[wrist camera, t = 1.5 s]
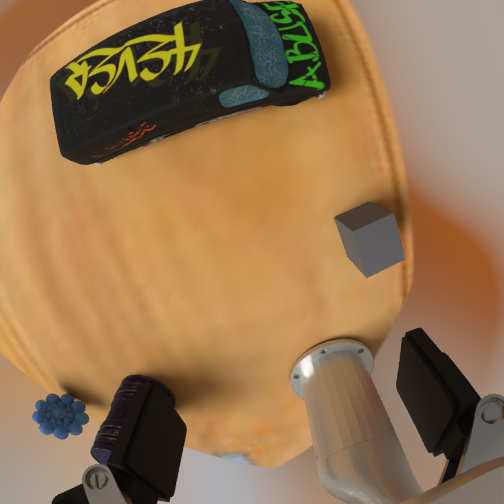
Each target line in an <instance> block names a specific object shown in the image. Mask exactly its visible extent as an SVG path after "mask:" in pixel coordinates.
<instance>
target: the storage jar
mask: <svg viewBox="0 0 504 504" xmlns="http://www.w3.org/2000/svg"><path fill="white" fill-rule="evenodd" d="M141 383H155V384H156V385H157V386H160V387H161V389H162V390H163V392H164V393H165V395H166V396H167V398H168V400H169V401H170V403H171V404H172V406H173V407H175V397H174V395H173V393H172V392H171V391H170V390H169V389H168V388H167V387H166V386H165V385H163V384H162V383H160V382H158V381H157V380H154V379H152V378H149V377H146V376H142V375H130V376H127V377H126V378H124V379H123V381H122V383H121V386H120V387H119V389H118V390H117V392H116V394H115V396H114V399H113V401H112V404H111V409H110V412H109V414H108V416H107V418H106V420H105V421H104V422H103V423H102V425H101V426H100V430H99V431H98V433H97V435H96V437H95V441H94V445H93V446H92V448H91V451H90V453H91V455H92V457H93V458H94V459H95V460H96V461H97V462H99V463H100V464H102V465H105V466H107V464H108V463H107V461H108V458H109V456H110V453H111V451H112V448H113V446H114V443H115V441H116V438H117V436H118V433H119V431H120V429H121V426H122V424H123V421H124V419H125V417H126V414H127V412H128V410H129V407H130V405H131V403H132V400H133V398H134V396H135V394H136V391H137V389H138V387H139V385H140V384H141Z"/></svg>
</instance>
